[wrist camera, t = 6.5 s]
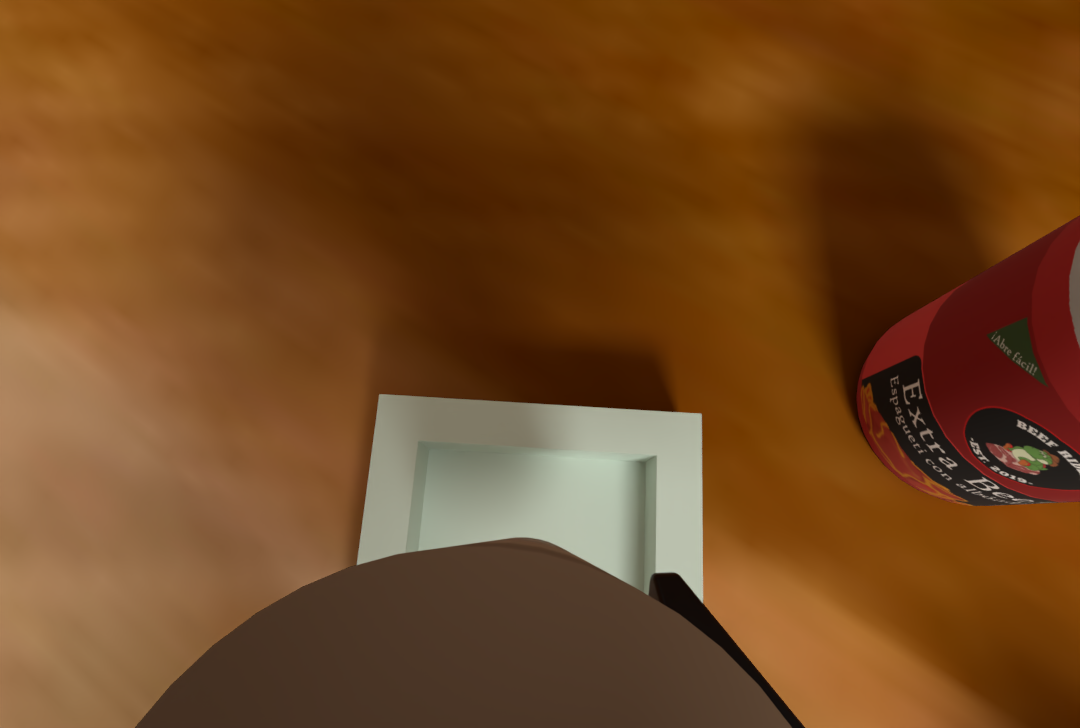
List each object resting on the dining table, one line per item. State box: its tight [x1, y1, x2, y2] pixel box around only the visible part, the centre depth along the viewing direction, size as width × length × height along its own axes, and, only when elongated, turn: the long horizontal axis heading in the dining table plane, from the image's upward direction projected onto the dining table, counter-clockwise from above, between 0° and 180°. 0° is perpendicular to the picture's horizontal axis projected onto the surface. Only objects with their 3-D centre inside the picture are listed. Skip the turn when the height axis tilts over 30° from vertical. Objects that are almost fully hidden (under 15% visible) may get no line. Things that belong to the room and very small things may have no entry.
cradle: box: [357, 394, 703, 603], centre depth 21 cm, size 13×11×3 cm
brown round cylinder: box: [135, 537, 792, 728], centre depth 9 cm, size 4×4×13 cm
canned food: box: [856, 216, 1080, 506], centre depth 19 cm, size 8×8×11 cm
